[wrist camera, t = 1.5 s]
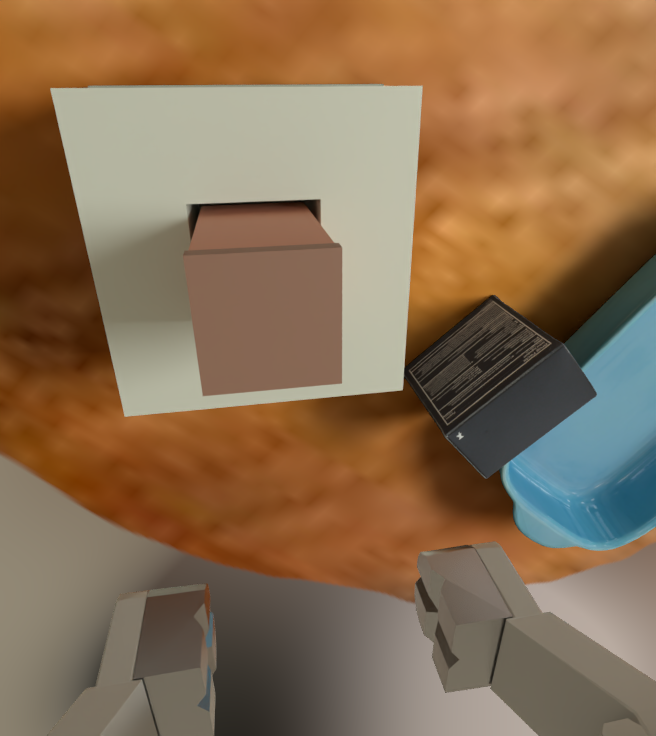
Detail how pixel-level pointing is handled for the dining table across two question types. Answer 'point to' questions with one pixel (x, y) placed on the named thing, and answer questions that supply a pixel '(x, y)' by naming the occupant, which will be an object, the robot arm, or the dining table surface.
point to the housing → (234, 187)
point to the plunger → (264, 298)
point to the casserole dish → (599, 435)
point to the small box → (497, 385)
